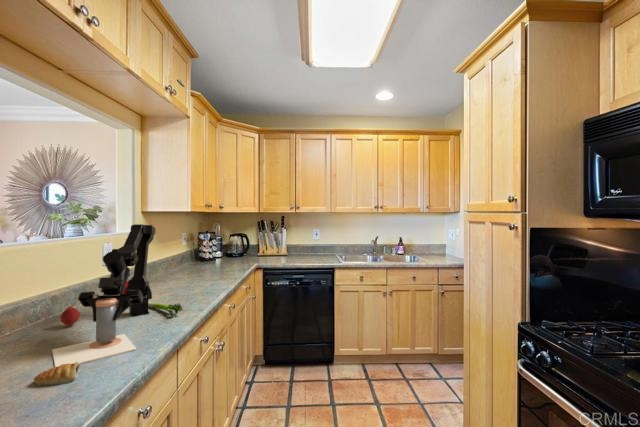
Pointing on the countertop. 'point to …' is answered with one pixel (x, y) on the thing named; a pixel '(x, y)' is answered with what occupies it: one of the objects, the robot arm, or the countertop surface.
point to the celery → (166, 307)
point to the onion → (70, 316)
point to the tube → (105, 319)
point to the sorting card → (92, 351)
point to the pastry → (59, 374)
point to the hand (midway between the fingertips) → (104, 320)
